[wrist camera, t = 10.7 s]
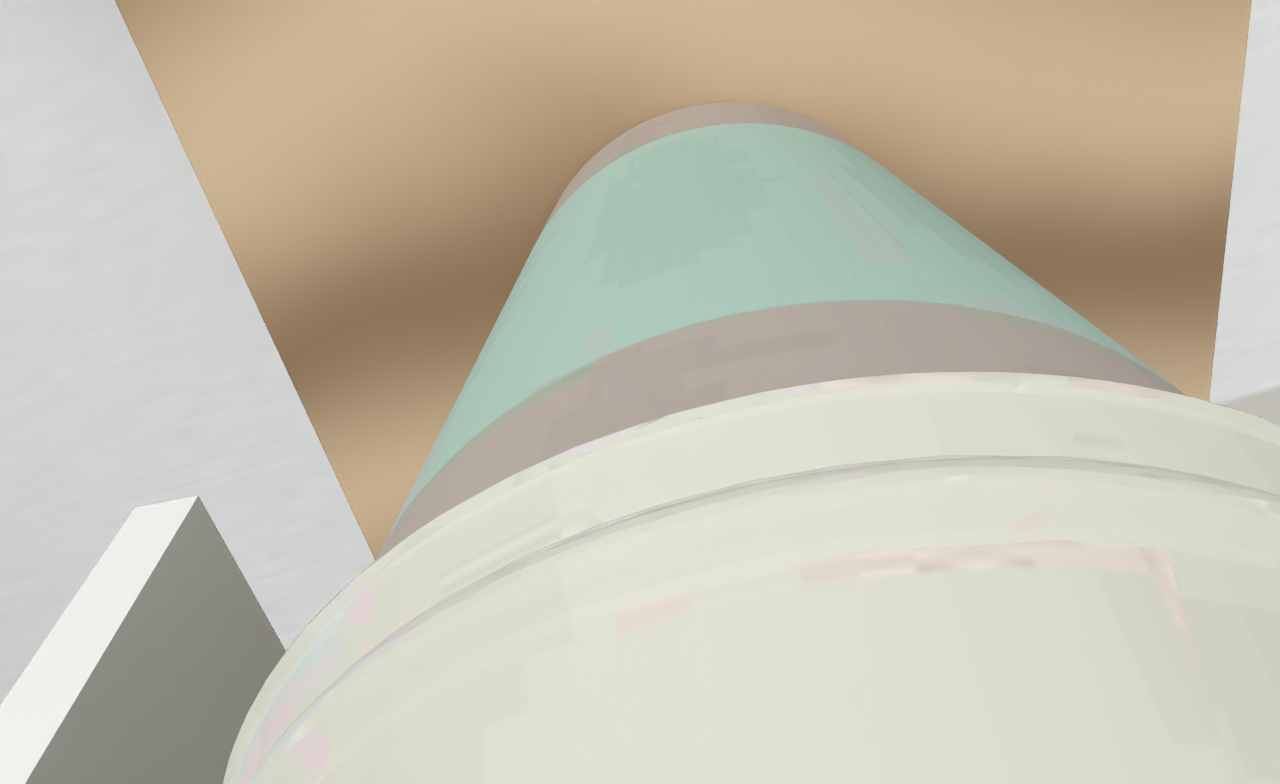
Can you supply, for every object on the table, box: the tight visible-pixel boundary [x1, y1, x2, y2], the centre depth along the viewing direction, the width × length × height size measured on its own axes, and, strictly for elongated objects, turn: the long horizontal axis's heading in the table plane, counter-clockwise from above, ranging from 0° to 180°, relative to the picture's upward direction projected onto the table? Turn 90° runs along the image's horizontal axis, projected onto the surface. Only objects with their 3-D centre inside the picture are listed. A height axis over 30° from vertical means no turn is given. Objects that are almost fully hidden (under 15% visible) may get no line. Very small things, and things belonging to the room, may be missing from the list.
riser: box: [115, 0, 1252, 561], centre depth 21 cm, size 15×15×12 cm
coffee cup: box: [223, 102, 1280, 784], centre depth 10 cm, size 9×8×12 cm
